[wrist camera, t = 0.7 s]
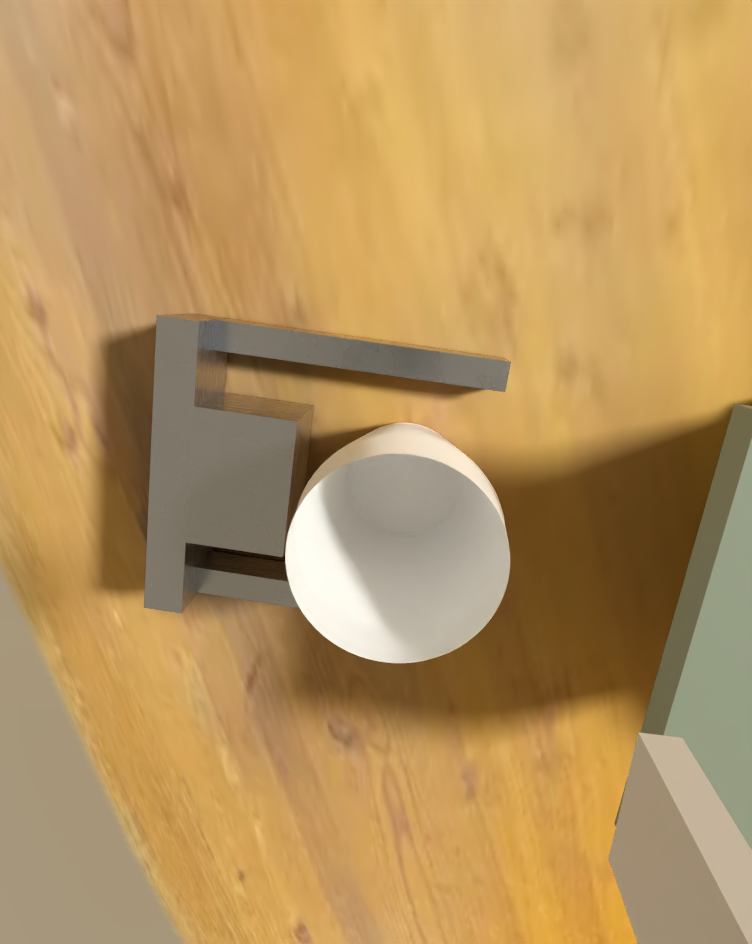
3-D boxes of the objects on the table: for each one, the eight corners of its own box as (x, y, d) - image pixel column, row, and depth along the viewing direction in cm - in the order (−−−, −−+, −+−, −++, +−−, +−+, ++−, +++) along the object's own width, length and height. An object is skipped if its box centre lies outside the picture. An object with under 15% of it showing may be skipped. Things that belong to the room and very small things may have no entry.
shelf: (603, 361, 34) (759, 411, 18) (832, 394, 33) (1187, 472, 18) (541, 631, 38) (627, 856, 22) (744, 662, 38) (972, 913, 22)
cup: (406, 583, 38) (401, 707, 26) (291, 481, 37) (233, 564, 25) (517, 477, 36) (565, 561, 24) (400, 365, 34) (391, 397, 23)
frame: (193, 313, 34) (156, 315, 30) (504, 357, 34) (518, 366, 29) (178, 569, 38) (143, 607, 33) (456, 611, 38) (462, 656, 33)
